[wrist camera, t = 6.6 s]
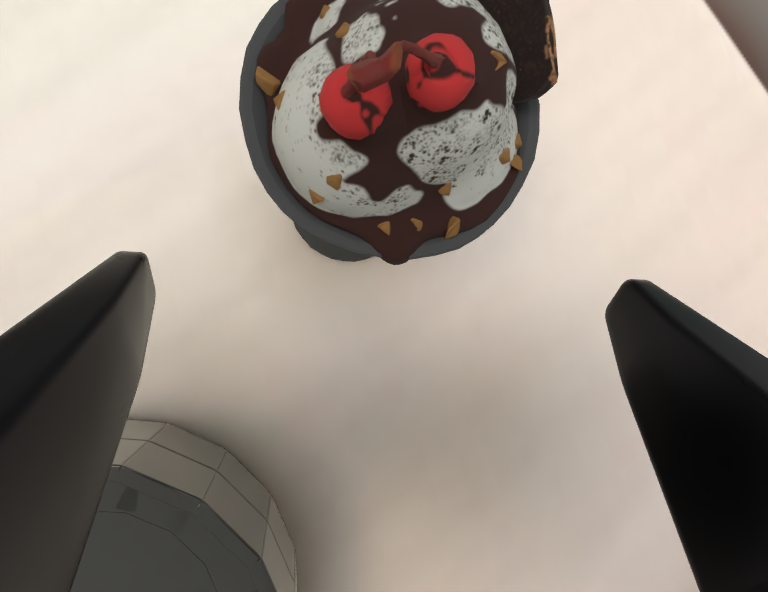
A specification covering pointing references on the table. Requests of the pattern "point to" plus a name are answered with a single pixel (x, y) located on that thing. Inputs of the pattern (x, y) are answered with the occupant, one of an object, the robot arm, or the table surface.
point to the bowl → (183, 521)
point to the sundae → (396, 118)
